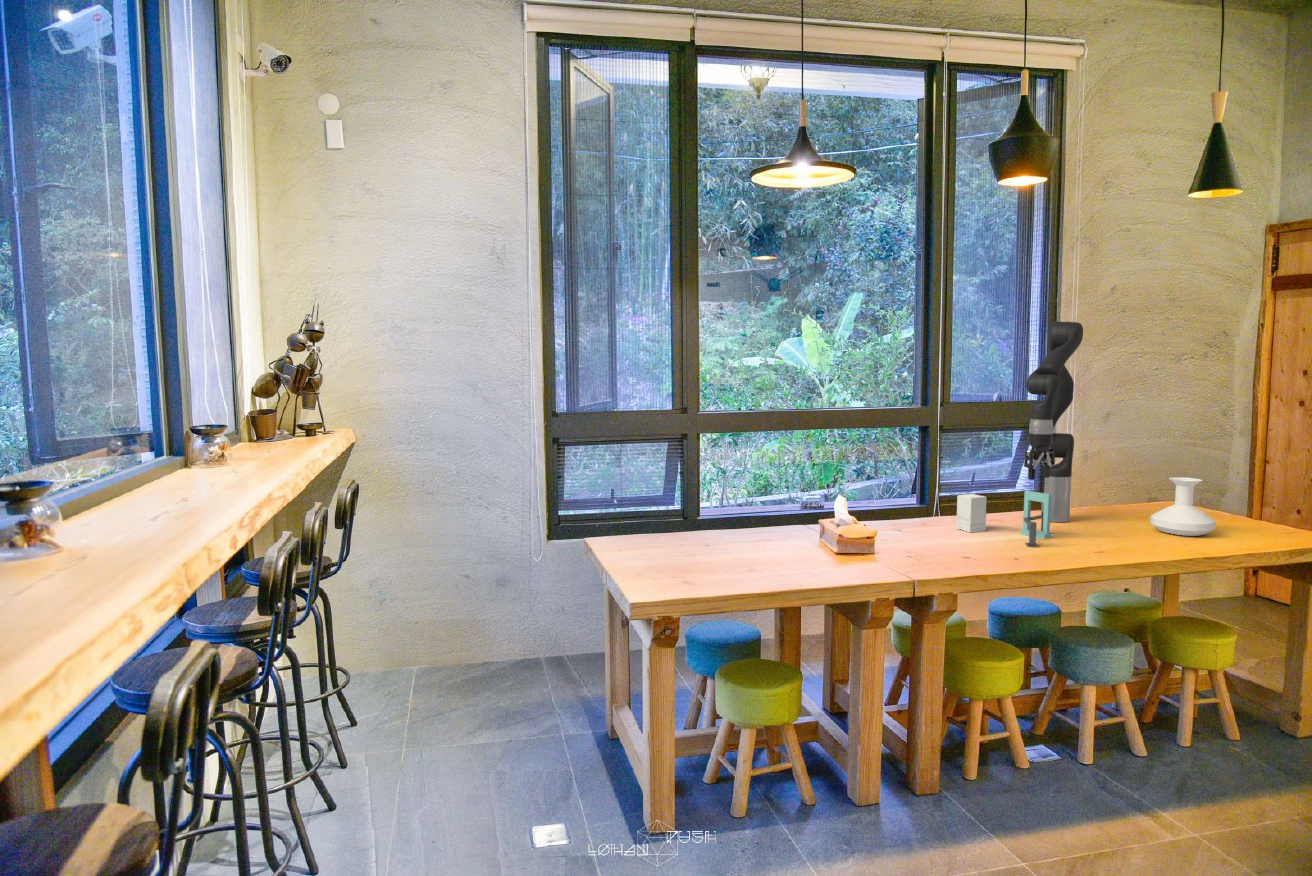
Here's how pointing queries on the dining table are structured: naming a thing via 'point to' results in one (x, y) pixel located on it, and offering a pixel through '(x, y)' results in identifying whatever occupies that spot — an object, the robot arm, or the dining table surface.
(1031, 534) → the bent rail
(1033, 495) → the teal frame
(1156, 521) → the candle holder
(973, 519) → the supplement box
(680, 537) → the dining table surface
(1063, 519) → the robot arm
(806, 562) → the dining table surface
